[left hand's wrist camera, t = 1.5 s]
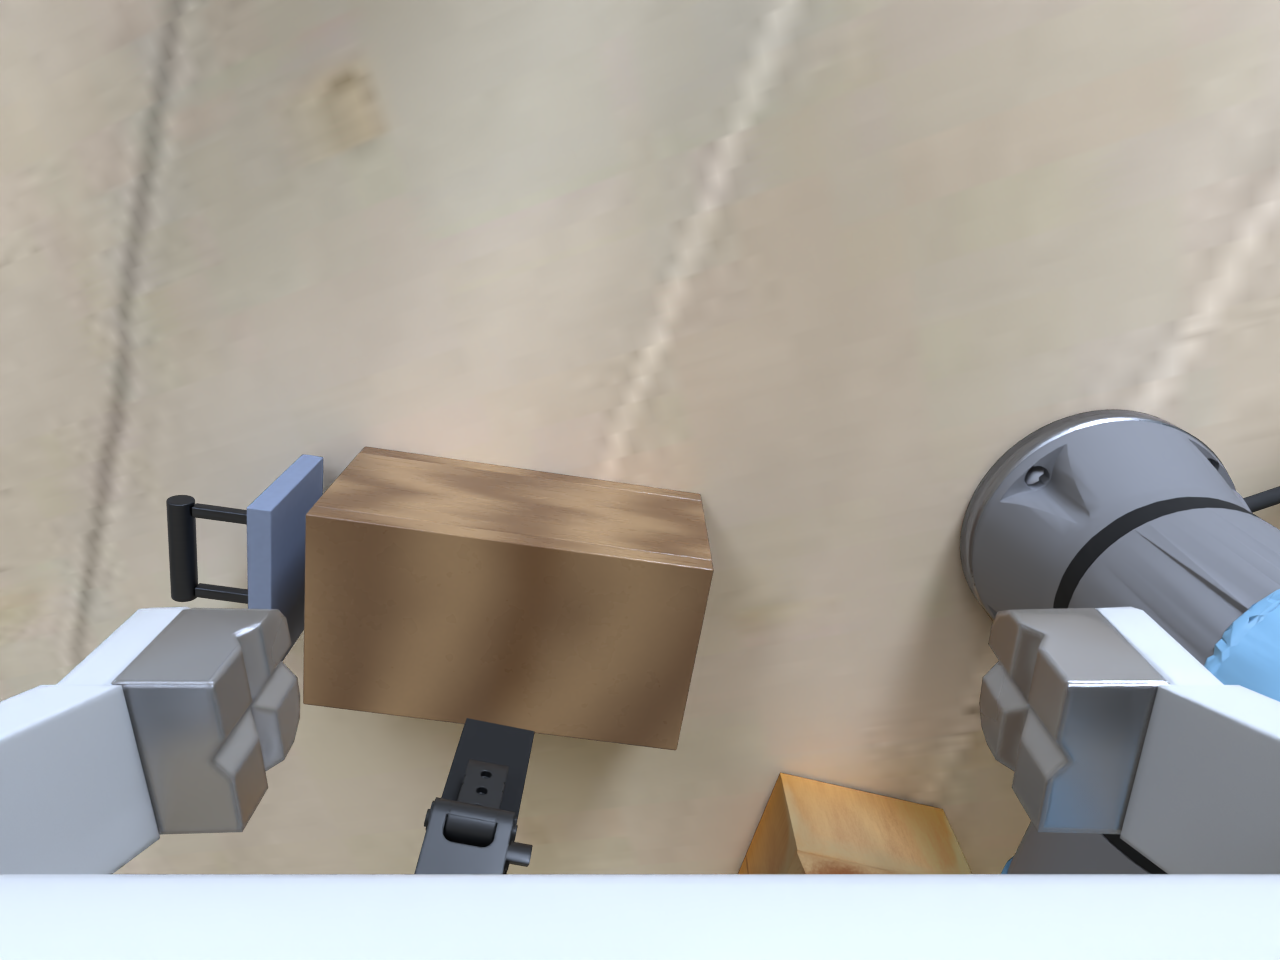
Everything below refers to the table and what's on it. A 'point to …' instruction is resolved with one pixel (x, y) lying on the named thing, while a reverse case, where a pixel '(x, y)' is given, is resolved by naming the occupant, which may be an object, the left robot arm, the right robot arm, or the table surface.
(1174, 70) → the table surface
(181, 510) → the drawer
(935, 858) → the bread
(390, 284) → the table surface
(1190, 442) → the right robot arm
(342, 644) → the cabinet
